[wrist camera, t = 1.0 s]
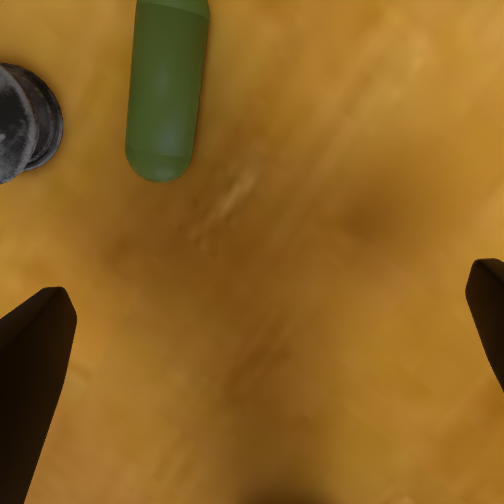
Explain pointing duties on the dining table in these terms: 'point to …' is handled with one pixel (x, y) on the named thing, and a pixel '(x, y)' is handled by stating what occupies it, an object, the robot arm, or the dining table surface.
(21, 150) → the chess piece
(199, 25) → the pickle
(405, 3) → the dining table surface
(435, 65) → the dining table surface
